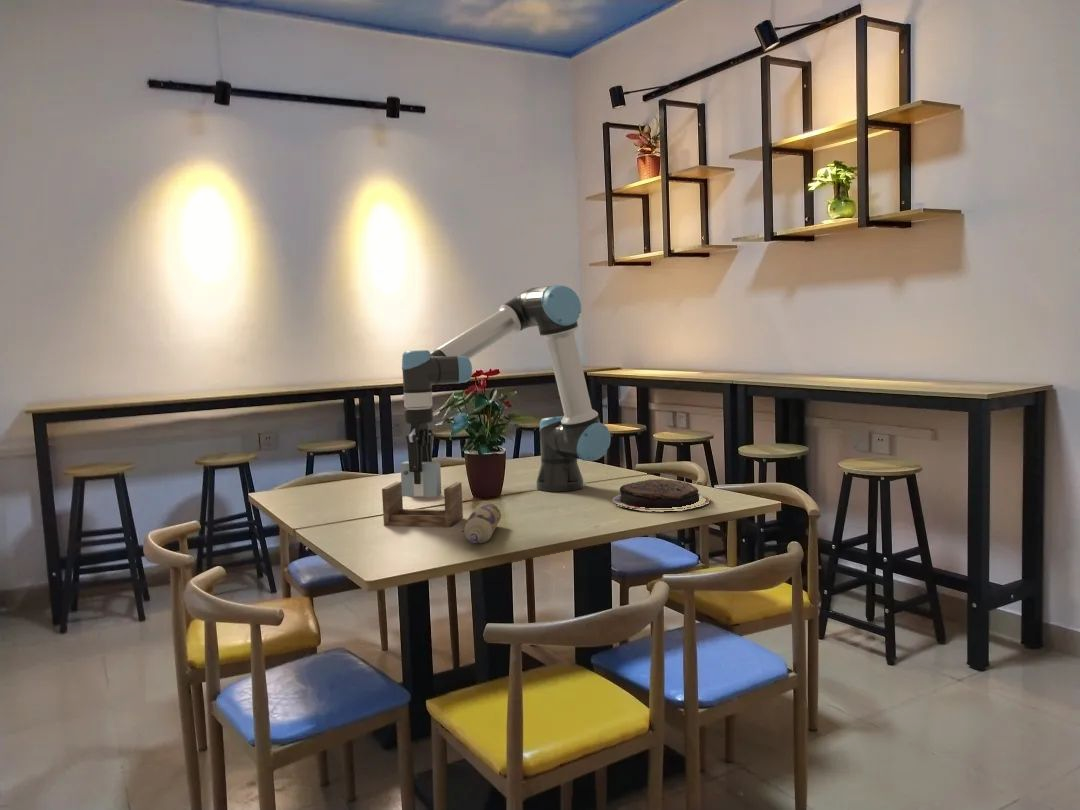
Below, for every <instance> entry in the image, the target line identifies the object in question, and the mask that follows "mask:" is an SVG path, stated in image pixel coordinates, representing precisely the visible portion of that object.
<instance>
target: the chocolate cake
mask: <svg viewBox="0 0 1080 810" xmlns="http://www.w3.org/2000/svg"><path fill="white" fill-rule="evenodd" d="M619 493H620V494H617V495H616V496H614V497H612V499H611V500H612V502H613V503H614V505H615V504H616V505H619V506H622V507H627V508H632V509H645V510H674V509H649V508H672V507H682V506H686V505H691V504H694V503H696V502H698V501H699V496H701V497H703V498H705V499H706V501H705V503H703V504H701V505H704V504H706V503H708V502H709V501H710V502H711V498H710V497H709V496H708V495H707V494H703V493H699V489H698V487H696V486H694V485H692V484H691V483H690V482H686V481H681V480H674V479H665V478H658V479H657V478H656V479H645V480H640V481H634V482H631V483H627V484H623V485H621V486H620V487H619ZM633 506H634V507H633ZM698 506H700V505H698ZM640 507H645V508H640ZM694 507H696V506H694ZM687 508H691V507H687ZM677 509H683V508H677ZM684 509H685V508H684Z"/></svg>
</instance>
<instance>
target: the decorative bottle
mask: <svg viewBox="0 0 1080 810" xmlns="http://www.w3.org/2000/svg"><path fill="white" fill-rule="evenodd" d="M501 518H502V514H501V510H500V509H499V507H498V506H497V505H495V504H493V503H492V502H481V503H478V504H477V505H476V506H475V507H474V509H473V511H472V513H471V514H470V515H469V517H468V518H467V520H466V521H465V524H464V525H463V530H462V531H461V532H462V533H463V535H464V537H465V538H466V539H467V540H469V542H470V543H471V544H483V543H486V542H487V541H489V540H490V539H492V538H491V537H492V535H493V533H494V532H495V530H496V528H497V526H498V524H499V523H500V522H501Z"/></svg>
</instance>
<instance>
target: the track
mask: <svg viewBox="0 0 1080 810" xmlns="http://www.w3.org/2000/svg"><path fill="white" fill-rule="evenodd" d="M381 489H382V490H381V495H382V496H381V497H382V499H381V500H382V512H383V513H382V514H383V516H382V517H383V526H384V525H392V526H391V527H433V526H438V527H440V526H441V528H442V527H443V528H447V527H449V528H451V527H453V526H455V525H456V524H457V523H459V522H460V521H461V520H463V519H464V513H463V512H464V509H463V507H464V506H463V488H462V481H460V482H459V481H458V482H457V481H456V482H454V483H452V484H450V485H448V486H447V487H445V488H444V489H443V495H444V497H443V498H444V509H430V508H429V509H426V508H425V509H418V508H416V509H415V508H404V507H403V506H404V505H403V504H404V503H403V501H404V500H403V496H402V485H401V481H395V482H394V483H391V484H389V485H387V486H385V487H383V488H381ZM462 518H463V519H462ZM459 520H460V521H459ZM458 521H459V522H458ZM455 523H456V524H455ZM394 525H395V526H394ZM438 527H437V528H438Z"/></svg>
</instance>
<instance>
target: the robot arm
mask: <svg viewBox="0 0 1080 810" xmlns="http://www.w3.org/2000/svg"><path fill="white" fill-rule="evenodd" d="M581 313H582V303H581V300H580V297H579V295H578V294H577V293H576V292H575V290H573V289H572V288H571V287H569V286H567V285H566V286H565V285H558V284H553V285H547V286H545V285H544V286H539V287H532V288H529V289H526V290H525V291H522V292H520V293H519V294H518V295H516V296H513V298H511V299H509V300H508V301H507V302H505V303H503V304H502V305H500V307H499V308H498V310H497V312H495V313H493V314H492V315H490V316H488V317H487V318H485V319H483V320H481V321H479V322H478V323H477V324H475V325H473V326H472V327H469V328H468V329H467V330H466V331H464V332H461V334H459V335H457V336H455V337H453V338H452V339H451V340H449V341H448V342H446V343H443V344H442V345H441V346H439V347H437V348H436V349H435V350H432V351H431V352H430V351H429V350H427V349H425V350H423V349H422V350H421V349H420V350H406V351H403V353H402V355H401V357H402V358H401V363H402V364H401V370H402V385H403V395H402V397H401V398H402V400H403V405H404V408H406V409H404V413H403V414H404V422H405V423H406V424H407V425H408V424H409V425H410V431H409V434H406V435H405V438H406V442H407V454H408V455H407V456H408V458H407V459H408V461H409V472H413V484H414V496H424V472H422V462H433V447H432V446H433V444H432V443H433V441H432V440H433V439H432V437H433V429H432V428H431V429H430V428H429V426H428V424H430V423H432V422H433V421H434V415H433V414H434V411H433V408H432V406H433V386H435V385H449V384H451V385H452V384H453V385H454V384H462V383H468V381H470V380H471V377H472V375H473V365H472V362H471V358H473V357H474V356H477V355H478V354H479V353H482V352H483V351H485V350H486V349H488V348H490V347H491V346H492V345H495V344H496V343H497V342H499V341H500V340H502V339H504V338H505V337H507V336H509V335H510V334H511V333H513V334H518V333H519V332H521V331H522V330H525V329H527V328H528V329H529V328H532V327H537V328H538V332H539V336H540V337H542V339H543V338H544V339H545V340H546V343H547V348H548V352H549V356H550V360H551V364H552V369H553V373H554V377H555V382H556V384H557V385H556V386H557V390H558V395H559V398H560V402H561V406H562V410H563V415H562V416H552V417H551V416H550V417H544V418H541V420H540V422H539V439H540V440H539V442H540V443H539V444H540V467H539V470H538V475H537V479H536V489H537V490H540V491H542V492H543V491H544V492H570V491H577V490H580V488H581V489H583V488H584V478H583V475H582V473H581V470H580V466H579V464H578V460H581V461H587V462H588V461H598V460H600V459H601V458H602V457H604V456H605V455H606V453H607V452H608V449H609V448H610V445H611V438H612V437H611V432H610V429H609V428H608V426H606V425H605V424H603V422H601V421H600V417H599V413H598V411H596V410H595V409H593V408H592V403H591V399H590V394H589V391H588V386H587V382H586V377H585V372H584V369H583V365H582V361H581V360H582V359H581V356H580V351H579V347H578V343H577V338H576V331H577V330H578V328H579V325H578V320H579V318H580V317H581V316H580V314H581Z"/></svg>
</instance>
